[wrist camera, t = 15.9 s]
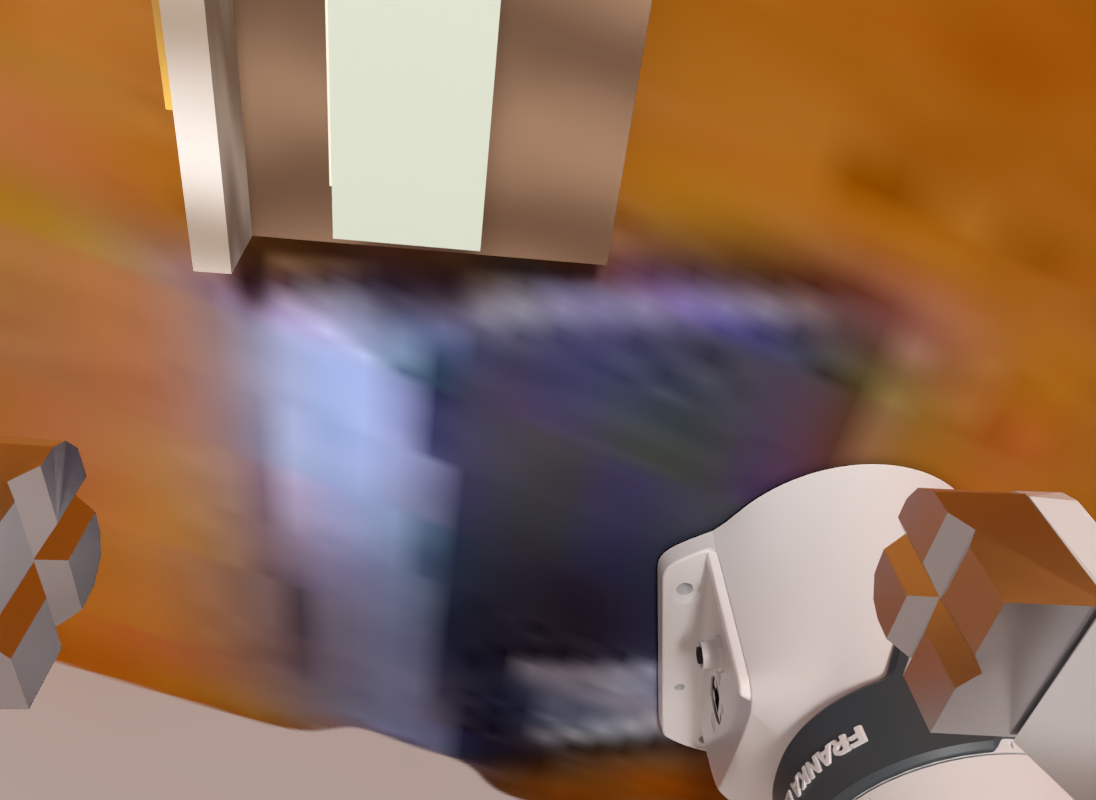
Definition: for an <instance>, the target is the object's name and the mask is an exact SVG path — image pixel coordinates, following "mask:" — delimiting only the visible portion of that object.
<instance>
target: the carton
mask: <svg viewBox="0 0 1096 800" xmlns="http://www.w3.org/2000/svg"><path fill="white" fill-rule="evenodd" d="M500 6H501V0H325V23H326V64H327V106H328V147H329V186H332V219H333V239H344V240H355V241H367V242H378V243H390V244H401V245H413V246H425V247H436V248H448V249H459V250H471V251H480V248H481V236H482V224H483V212H484V200H485V188H486V176H487V164H488V151H489V139H490V127H491V115H492V103H493V91H494V79H495V67H496V55H497V42H498V30H499V18H500Z"/></svg>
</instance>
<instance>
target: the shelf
mask: <svg viewBox="0 0 1096 800" xmlns="http://www.w3.org/2000/svg"><path fill="white" fill-rule="evenodd" d="M151 2H152V9H153V17H154V24H155V32H156V39H157V47H158V54H159V62H160V70H161V77H162V85H163V92H164V100H165V107H166V109H167V110H173V115H174V123H175V131H176V139H177V147H178V154H179V162H180V170H181V178H182V186H183V193H184V201H185V209H186V217H187V225H188V232H189V240H190V248H191V256H192V264H193V271H200V272H213V273H226V274H232V272H233V270H234V268H235V267H236V265H237V263H238V261H239V259H240V257H241V256H242V254H243V252H244V250H245V248H246V246H247V244H248V243H249V241H250V239H251V237H252V236H262V237H274V238H286V239H298V240H310V241H322V242H334V243H346V244H358V245H370V246H382V247H394V248H406V249H418V250H430V251H442V252H454V253H466V254H478V255H490V256H502V257H514V258H526V259H538V260H550V261H562V262H574V263H586V264H598V265H607V260H608V255H609V249H610V243H611V237H612V231H613V225H614V219H615V214H616V208H617V202H618V196H619V190H620V184H621V179H622V173H623V167H624V161H625V155H626V149H627V143H628V138H629V132H630V126H631V120H632V114H633V108H634V103H635V97H636V91H637V85H638V79H639V73H640V67H641V62H642V56H643V50H644V44H645V38H646V32H647V27H648V21H649V15H650V9H651V3H652V0H501V6H500V18H499V30H498V42H497V55H496V67H495V79H494V91H493V103H492V115H491V127H490V139H489V151H488V164H487V176H486V188H485V200H484V212H483V224H482V236H481V248H480V251H471V250H459V249H448V248H436V247H425V246H413V245H401V244H390V243H378V242H367V241H355V240H344V239H333V219H332V186H329V147H328V106H327V64H326V23H325V0H151Z"/></svg>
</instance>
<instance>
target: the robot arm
mask: <svg viewBox="0 0 1096 800" xmlns="http://www.w3.org/2000/svg"><path fill="white" fill-rule="evenodd" d="M85 478H86V474H85V470H84V467H83V464H82V460H81V457H80V454H79V451H78V448H76V447H75V446H73V445H72V444H70V443H68V442H67V441H59V440H46V439H32V438H19V437H6V436H0V709H29V708H30V706H31V704H32V702H33V701H34V699H35V697H36V695H37V693H38V691H39V689H40V687H41V686H42V684H43V682H44V680H45V678H46V676H47V674H48V672H49V671H50V669H51V667H52V665H53V663H54V661H55V659H56V657H57V656H58V654H59V652H60V650H61V648H62V647H61V644H60V641H59V637H58V634H57V631H56V628H55V627H56V626H58V625H59V624H61V623H62V622H64V621H65V620H67V619H68V618H70V617H71V616H73V615H74V614H76V613H77V612H79V611H80V610H82V608H83V606H84V604H85V602H86V600H87V598H88V596H89V594H90V592H91V590H92V588H93V586H94V582H95V578H96V574H97V569H98V565H99V560H100V556H101V550H100V530H99V525H98V521H97V517H96V513H95V512H94V511H93V510H92V509H91V508H90V507H89V506H88V505H86V504H85V503H84V502H83V501H82V500H81V499H80V498H78V497H77V496H76V495H75V494H76V492H77V491H78V489H79V487H80V486H81V484H82V482H83V481H84V479H85ZM683 583H685V584H683ZM658 714H659V721H660V725H661V728H662V731H663V734H664V735H665V736H666V737H668V738H670V739H671V740H674V741H676V742H678V743H680V744H683V745H686V746H689V747H692V748H695V749H700V750H704V751H706V752H707V756H708V760H709V764H710V768H711V772H712V775H713V778H714V781H715V784H716V786H717V788H718V790H719V791H720V792H721V793H722V795H723V796H725V797H726V798H727V799H728V800H1096V522H1095V521H1094V520H1093V519H1092V518H1091V516H1090V515H1089V514H1088V513H1087V512H1086V510H1085V509H1084V508H1083V507H1082V506H1081V505H1080V503H1079V502H1078V501H1077V500H1075V499H1073V498H1071V497H1069V496H1068V495H1066V494H1064V493H1062V492H1032V491H1013V492H996V491H975V490H955V489H953V488H952V487H951V486H949V485H948V484H947V483H945V482H943V481H942V480H940V479H938V478H936V477H934V476H932V475H930V474H927V473H924V472H922V471H918V470H915V469H911V468H906V467H901V466H895V465H884V464H861V465H850V466H843V467H836V468H831V469H827V470H822V471H818V472H815V473H812V474H808V475H805V476H802V477H800V478H797V479H794V480H792V481H789V482H787V483H785V484H782V485H780V486H778V487H776V488H774V489H772V490H771V491H769V492H767V493H765V494H763V495H762V496H760V497H759V498H757V499H755V500H754V501H752V502H751V503H750V504H748V505H747V506H745V507H744V508H743V509H742V510H740V511H739V512H738V513H737V514H735V515H734V516H733V517H732V518H730V519H729V520H728V521H727V522H725V523H724V524H722V525H721V526H720V527H718V528H716V529H715V530H713V531H711V532H708V533H705V534H703V535H700V536H697V537H695V538H692V539H689V540H687V541H685V542H682V543H680V544H678V545H676V546H674V547H672V548H670V549H669V550H667V551H666V552H665V553H663V555H662V556H661V557H660V559H659V561H658Z"/></svg>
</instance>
